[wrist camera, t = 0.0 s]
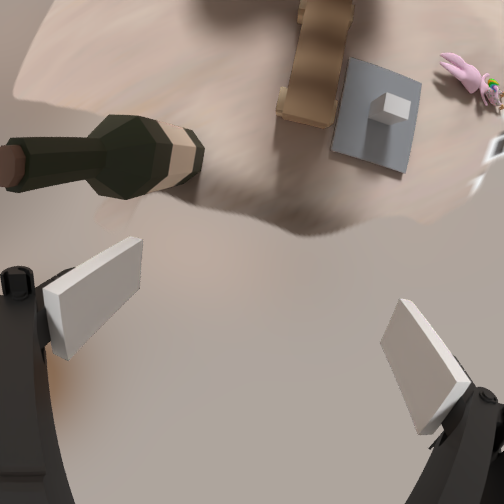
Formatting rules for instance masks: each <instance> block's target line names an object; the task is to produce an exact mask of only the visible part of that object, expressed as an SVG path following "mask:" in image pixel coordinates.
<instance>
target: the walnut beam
mask: <svg viewBox="0 0 504 504" xmlns="http://www.w3.org/2000/svg"><path fill="white" fill-rule="evenodd" d="M351 6H352V0H307V3H306V8H305V12H304V17H303V22H302V26H301V31H300V35H299V40H298V44H297V49H296V53H295V58H294V62H293V67H292V71H291V76H290V80H289V85H288V89H287V94H286V99H285V103H284V108H283V112H282V119H285V120H289V121H294V122H298V123H302V124H306V125H310V126H314V127H318V128H322V129H324V128H326V127H327V126H328V125H330V121H331V116H332V111H333V106H334V101H335V96H336V91H337V86H338V81H339V76H340V71H341V65H342V60H343V54H344V49H345V43H346V37H347V31H348V25H349V19H350V13H351Z"/></svg>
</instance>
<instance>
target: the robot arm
mask: <svg viewBox="0 0 504 504" xmlns="http://www.w3.org/2000/svg"><path fill="white" fill-rule="evenodd" d="M142 248H143V239H140V238H136V237H132V236H129V237H128V238H126V239H124V240H122V241H120V242H118V243H117V244H115V245H113V246H111V247H110V248H108V249H106V250H104V251H103V252H101V253H99V254H98V255H96V256H94V257H92V258H91V259H89V260H88V261H86V262H84V263H82V264H81V265H79V266H78V267H73V268H70V269H66V270H64V271H62V272H60V273H59V274H57V276H54V277H52V278H51V280H50V279H49V280H47V281H46V282H44V283H42V284H41V285H39V286H38V287H36V288H35V286H34V276H33V271H32V270H31V269H30V268H28V267H25V266H14V267H10V268H7V269H5V270H4V271H2V273H1V274H0V278H1V284H2V290H3V295H0V504H75V502H74V499H73V496H72V493H71V490H70V487H69V484H68V480H67V477H66V473H65V470H64V466H63V462H62V458H61V454H60V449H59V445H58V440H57V435H56V430H55V425H54V419H53V413H52V407H51V400H50V391H49V383H48V373H47V359H46V351H45V346H46V345H47V343H49V342H50V341H51V346H52V351H53V354H55V355H57V356H59V357H61V358H63V359H65V360H67V361H69V360H70V359H71V358H72V357H73V355H75V354H76V352H77V351H78V350H79V349H80V348H81V347H82V346H83V345H84V344H85V343H86V342H87V341H88V340H89V339H90V338H91V337H92V336H93V335H94V334H95V333H96V332H97V331H98V330H99V329H100V328H101V327H102V326H103V325H104V324H105V323H106V322H107V320H108V319H109V318H110V317H111V316H112V315H113V314H114V313H115V312H116V311H117V310H119V309H120V308H121V306H122V305H124V304H125V302H127V301H128V300H129V298H131V297H132V295H134V294H135V293H136V292H137V291H138V290H139V289H140V274H141V260H142ZM380 344H381V347H382V349H383V351H384V353H385V355H386V358H387V360H388V362H389V364H390V367H391V369H392V371H393V374H394V376H395V378H396V381H397V383H398V386H399V388H400V390H401V392H402V395H403V398H404V400H405V403H406V405H407V408H408V410H409V413H410V415H411V418H412V420H413V423H414V426H415V428H416V431H417V434H418V435H428V434H433V433H434V432H435V431H436V430H437V428H438V427H439V426H440V425H441V424H442V426H443V428H444V431H443V432H442V433H441V435H440V436H439V437H438V438H437V439H436V440H435V441H434V443H433V444H432V445H431V446H430V447H429V449H431V448H432V447H434V449H433V451H432V453H431V456H430V457H429V460H428V462H427V464H426V466H425V468H424V470H423V472H422V474H421V476H420V478H419V480H418V481H417V483H416V485H415V487H414V489H413V491H412V492H411V494H410V496H409V498H408V499H407V501H406V503H405V504H504V451H503V452H501V448H502V446H503V445H504V404H500V403H498V399H497V397H496V396H495V395H494V394H493V393H492V392H491V391H490V390H488V389H486V388H483V387H477V388H476V386H475V385H474V383H473V382H472V380H471V379H470V377H469V376H468V374H467V373H466V371H464V368H463V367H462V366H461V365H460V363H459V361H458V360H457V358H456V357H455V356H454V355H453V354H452V353H451V352H450V351H449V349H448V348H447V347H446V345H445V344H444V343H443V341H442V340H441V338H440V337H439V336H438V334H437V333H436V332H435V330H434V329H433V328H432V326H431V325H430V324H429V322H428V321H427V320H426V319H425V317H424V316H423V315H422V313H421V312H420V311H419V310H418V309H417V307H416V306H415V305H414V303H413V302H412V301H410V300H405V299H401V298H400V299H399V301H398V303H397V306H396V308H395V310H394V313H393V315H392V317H391V320H390V322H389V324H388V326H387V329H386V331H385V333H384V335H383V337H382V339H381V342H380Z"/></svg>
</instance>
